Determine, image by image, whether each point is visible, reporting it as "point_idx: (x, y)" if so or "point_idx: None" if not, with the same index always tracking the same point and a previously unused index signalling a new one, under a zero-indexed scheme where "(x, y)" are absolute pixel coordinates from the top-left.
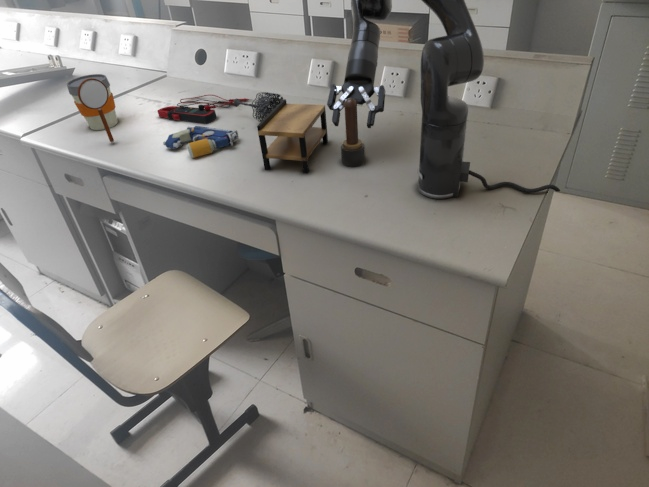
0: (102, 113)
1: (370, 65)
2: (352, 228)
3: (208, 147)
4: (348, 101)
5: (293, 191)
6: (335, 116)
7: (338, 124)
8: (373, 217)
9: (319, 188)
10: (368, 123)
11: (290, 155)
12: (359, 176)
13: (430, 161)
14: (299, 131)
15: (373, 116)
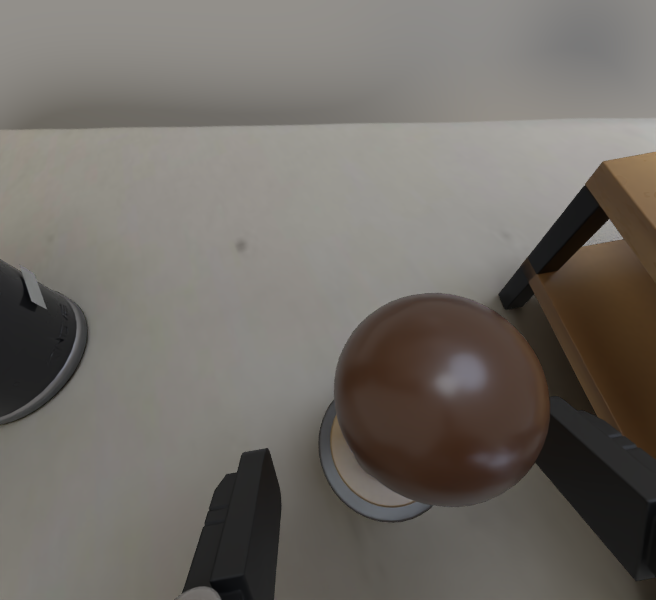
0: None
1: None
2: (234, 138)
3: None
4: (439, 300)
5: (460, 196)
6: (594, 434)
7: (539, 465)
8: (198, 180)
9: (395, 233)
10: (251, 457)
11: (607, 249)
12: (302, 340)
13: None
14: (644, 169)
15: (203, 542)
